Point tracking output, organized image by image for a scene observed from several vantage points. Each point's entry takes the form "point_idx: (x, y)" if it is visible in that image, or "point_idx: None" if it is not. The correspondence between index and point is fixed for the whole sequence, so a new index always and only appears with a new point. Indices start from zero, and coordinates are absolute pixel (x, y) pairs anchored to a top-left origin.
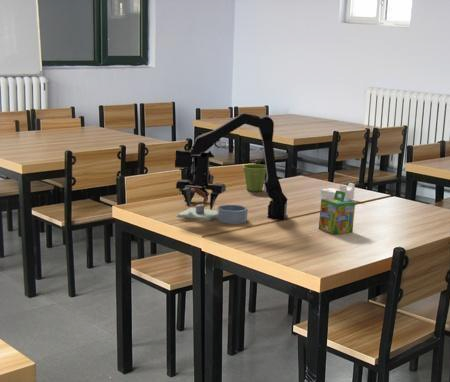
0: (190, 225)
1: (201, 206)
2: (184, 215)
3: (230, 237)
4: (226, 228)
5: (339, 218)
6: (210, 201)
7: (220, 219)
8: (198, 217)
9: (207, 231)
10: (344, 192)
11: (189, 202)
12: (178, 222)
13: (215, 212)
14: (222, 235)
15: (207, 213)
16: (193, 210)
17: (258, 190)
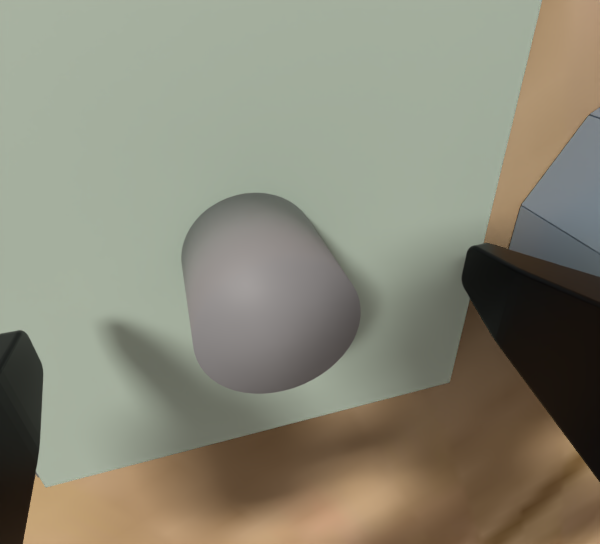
0: (331, 521)
1: (331, 362)
2: (147, 457)
3: (591, 506)
4: None
5: None
6: (572, 436)
7: None
8: (326, 407)
9: (471, 521)
10: None
11: (16, 436)
12: (203, 537)
13: (473, 91)
14: (554, 511)
15: (372, 227)
16: (56, 189)
17: None
